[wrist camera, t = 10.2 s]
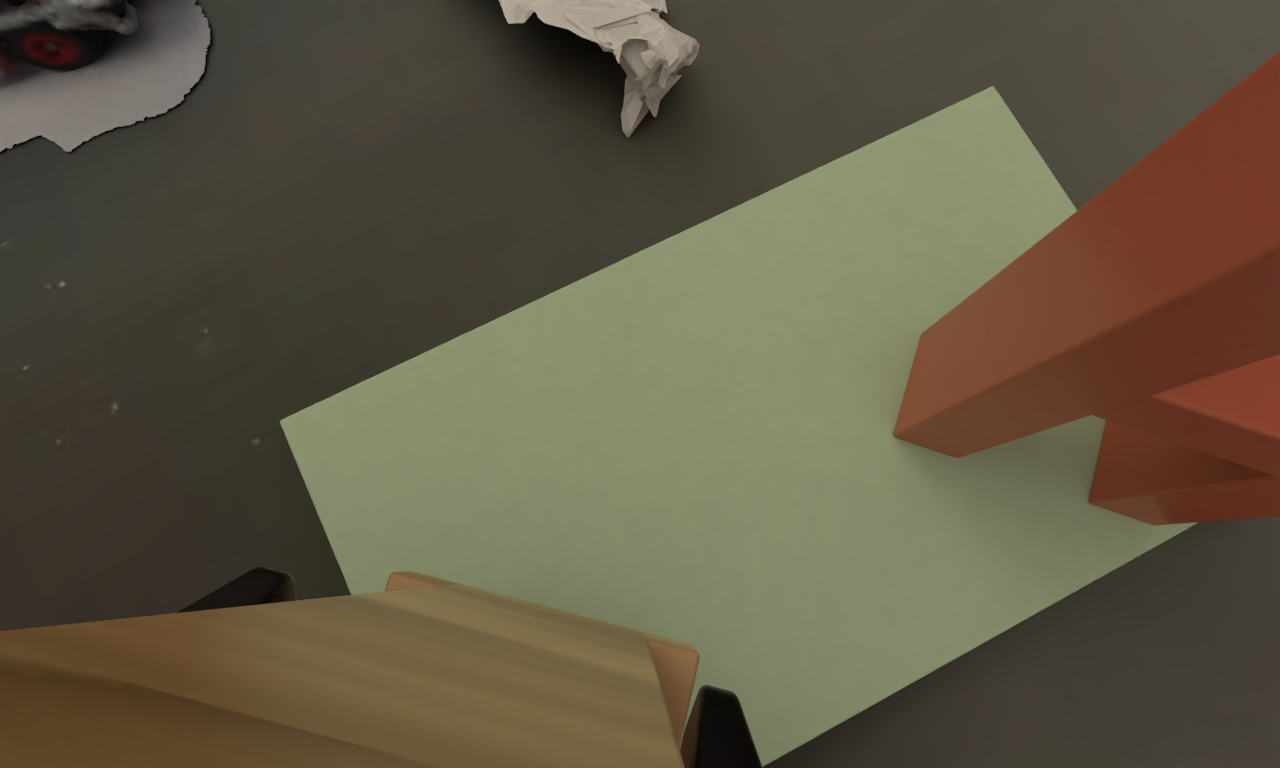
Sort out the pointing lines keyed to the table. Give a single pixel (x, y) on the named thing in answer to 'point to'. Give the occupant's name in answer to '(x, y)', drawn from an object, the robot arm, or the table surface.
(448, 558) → the word mat
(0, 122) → the toy car
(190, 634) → the letter I
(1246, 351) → the letter H
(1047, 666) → the table surface
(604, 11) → the paper
